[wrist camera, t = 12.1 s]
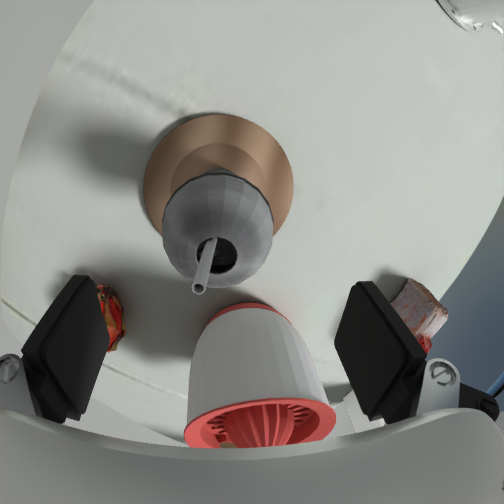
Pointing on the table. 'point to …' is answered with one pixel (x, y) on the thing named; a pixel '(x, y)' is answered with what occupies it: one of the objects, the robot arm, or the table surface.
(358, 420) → the milk
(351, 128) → the table surface
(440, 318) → the food item
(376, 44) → the table surface
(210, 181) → the beverage cup
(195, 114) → the table surface
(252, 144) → the brown round plate
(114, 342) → the dragon fruit
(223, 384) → the citrus juicer
